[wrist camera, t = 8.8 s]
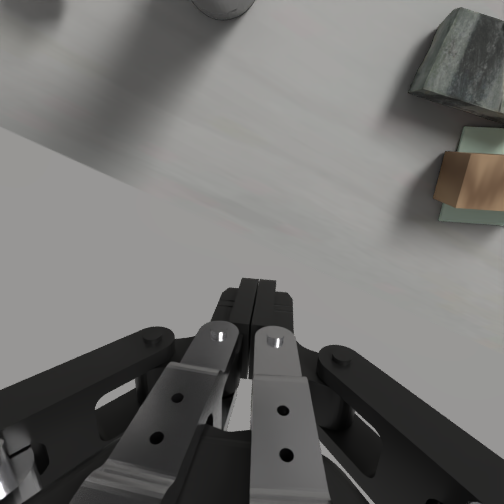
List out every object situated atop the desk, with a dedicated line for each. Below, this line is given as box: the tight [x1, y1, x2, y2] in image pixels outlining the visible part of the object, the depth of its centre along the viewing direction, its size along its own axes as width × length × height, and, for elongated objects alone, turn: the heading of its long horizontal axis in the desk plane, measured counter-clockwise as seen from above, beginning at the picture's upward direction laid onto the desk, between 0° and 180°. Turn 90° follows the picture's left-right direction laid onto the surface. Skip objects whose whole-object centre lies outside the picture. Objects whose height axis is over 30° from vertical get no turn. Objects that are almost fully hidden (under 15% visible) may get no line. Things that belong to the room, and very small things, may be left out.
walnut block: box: [433, 151, 504, 211], centre depth 37 cm, size 6×6×12 cm
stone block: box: [408, 7, 504, 124], centre depth 34 cm, size 9×14×5 cm, turn 73°
